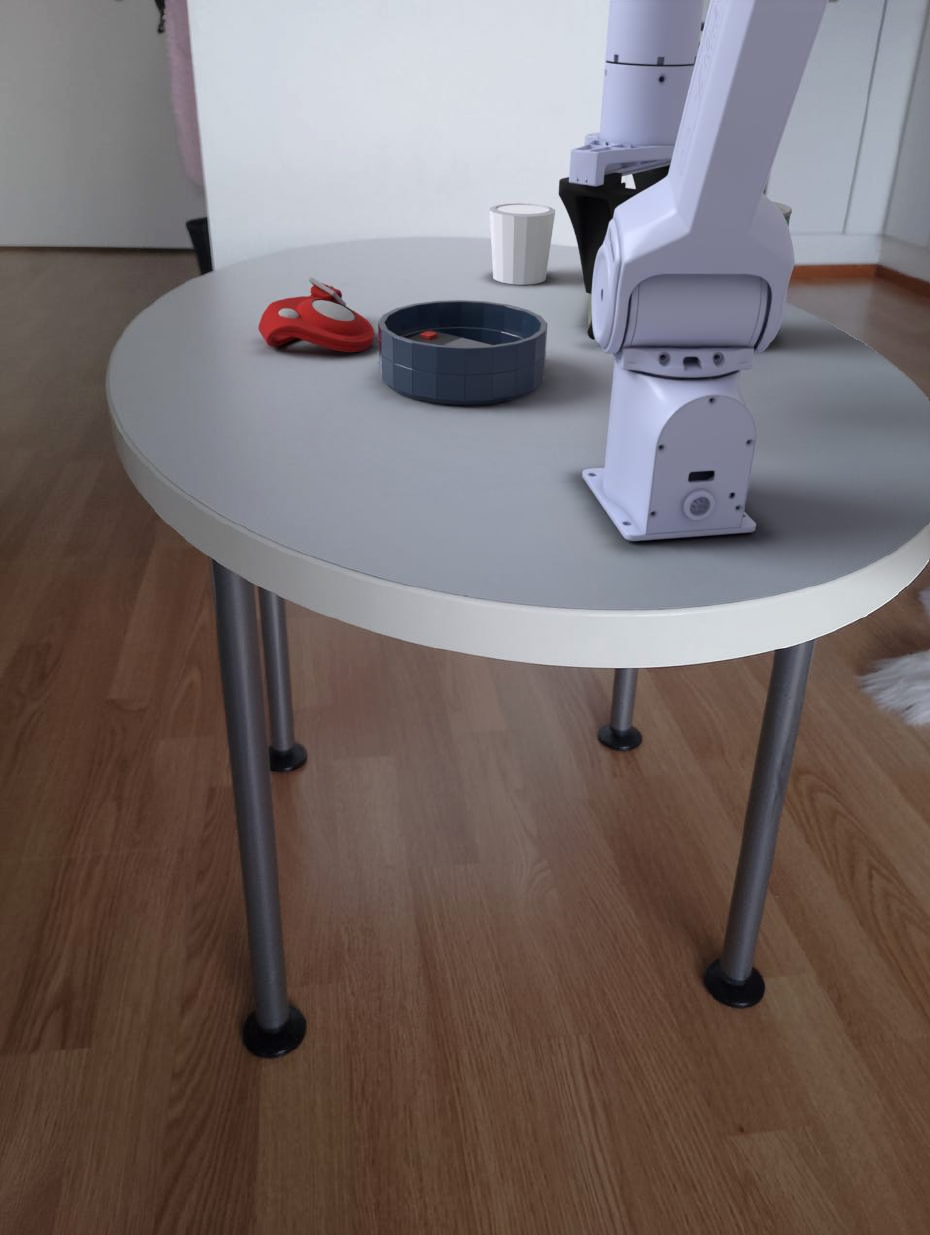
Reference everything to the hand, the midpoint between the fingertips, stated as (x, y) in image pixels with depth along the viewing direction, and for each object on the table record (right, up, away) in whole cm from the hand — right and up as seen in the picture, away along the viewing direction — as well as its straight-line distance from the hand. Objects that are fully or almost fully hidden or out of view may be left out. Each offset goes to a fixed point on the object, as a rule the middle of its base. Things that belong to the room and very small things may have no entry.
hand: (629, 283), depth 73 cm
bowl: (-12, -4, +11) cm, 16 cm away
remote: (-12, -4, +11) cm, 16 cm away
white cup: (-6, +13, +39) cm, 41 cm away
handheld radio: (+2, +6, +29) cm, 30 cm away
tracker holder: (-24, +1, +20) cm, 31 cm away
